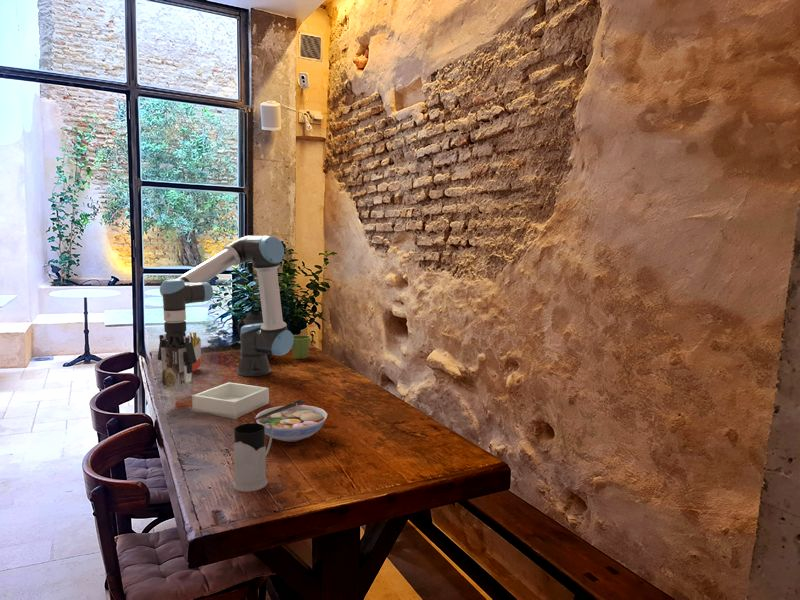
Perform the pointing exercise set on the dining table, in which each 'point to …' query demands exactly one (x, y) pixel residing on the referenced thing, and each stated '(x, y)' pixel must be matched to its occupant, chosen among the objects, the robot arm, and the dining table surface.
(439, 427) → the dining table surface
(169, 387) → the coffee box
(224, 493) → the dining table surface
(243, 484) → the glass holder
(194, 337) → the french fries container
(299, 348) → the plant pot
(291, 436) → the ramen bowl
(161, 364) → the watch
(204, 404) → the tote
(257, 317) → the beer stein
